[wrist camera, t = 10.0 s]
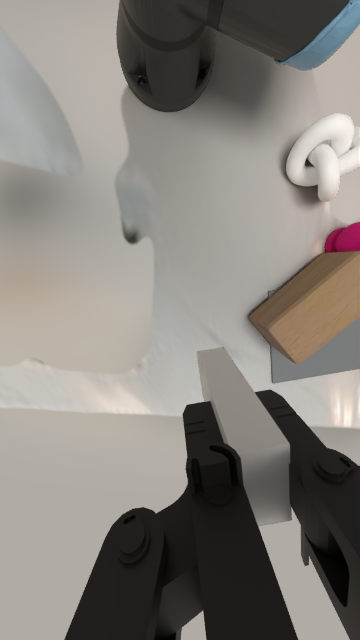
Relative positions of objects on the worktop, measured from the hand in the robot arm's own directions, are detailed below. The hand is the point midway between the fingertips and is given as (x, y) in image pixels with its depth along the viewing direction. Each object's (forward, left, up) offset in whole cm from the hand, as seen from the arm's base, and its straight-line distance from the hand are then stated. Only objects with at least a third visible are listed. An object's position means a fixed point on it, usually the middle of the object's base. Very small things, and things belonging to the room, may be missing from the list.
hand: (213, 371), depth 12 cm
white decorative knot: (-19, +29, -35) cm, 49 cm away
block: (+12, +16, -29) cm, 35 cm away
